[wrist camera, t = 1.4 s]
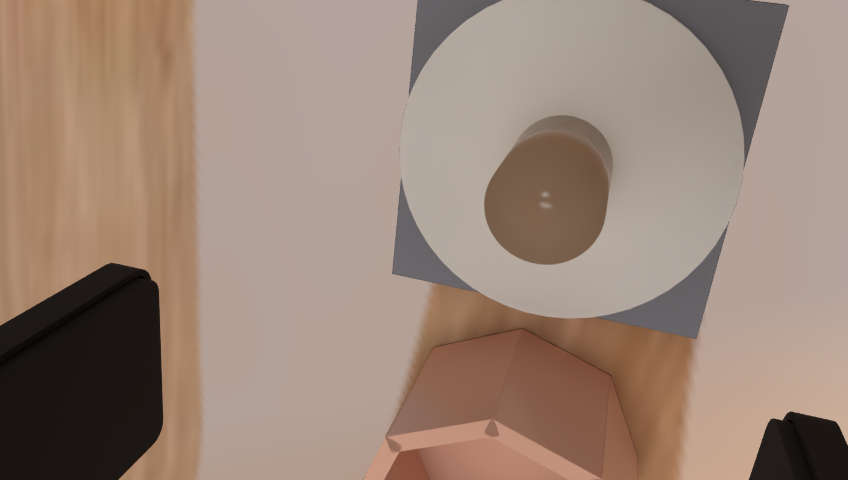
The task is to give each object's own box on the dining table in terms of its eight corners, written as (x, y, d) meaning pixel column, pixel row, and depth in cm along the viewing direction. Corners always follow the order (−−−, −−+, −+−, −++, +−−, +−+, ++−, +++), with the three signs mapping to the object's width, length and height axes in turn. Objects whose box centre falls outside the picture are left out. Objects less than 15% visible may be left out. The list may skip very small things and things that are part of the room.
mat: (425, -39, 24) (421, -39, 24) (786, 4, 22) (789, 5, 21) (396, 268, 28) (392, 273, 28) (695, 332, 26) (696, 338, 25)
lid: (690, -73, 21) (703, -81, 16) (776, 266, 24) (810, 347, 19) (362, 54, 25) (293, 78, 20) (467, 333, 28) (429, 414, 23)
